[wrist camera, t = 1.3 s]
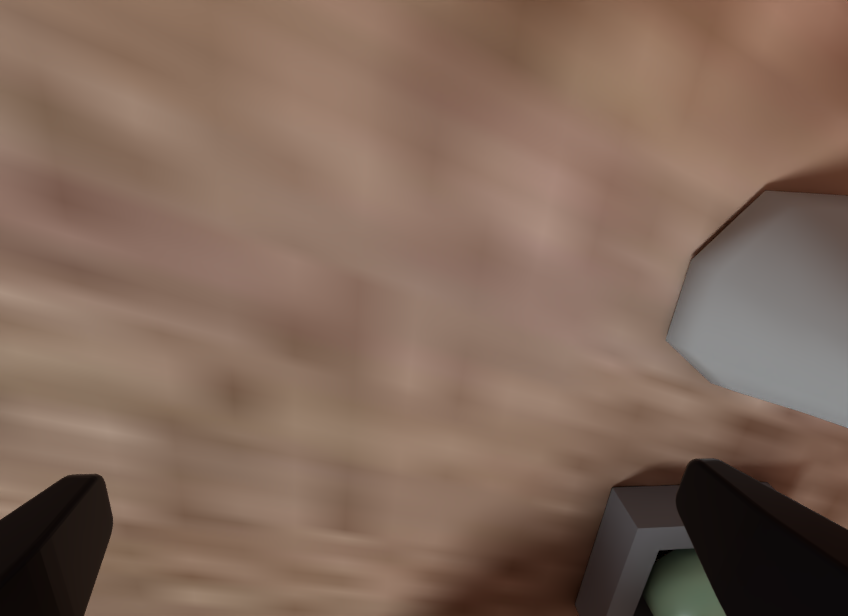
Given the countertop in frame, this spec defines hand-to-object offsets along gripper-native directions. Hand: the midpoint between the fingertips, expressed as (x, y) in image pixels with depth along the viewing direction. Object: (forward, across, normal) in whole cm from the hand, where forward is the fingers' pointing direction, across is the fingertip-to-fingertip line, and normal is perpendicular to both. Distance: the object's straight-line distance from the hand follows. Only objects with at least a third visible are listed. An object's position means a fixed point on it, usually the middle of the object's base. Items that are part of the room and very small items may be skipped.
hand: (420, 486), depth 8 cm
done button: (+7, -13, +12) cm, 19 cm away
